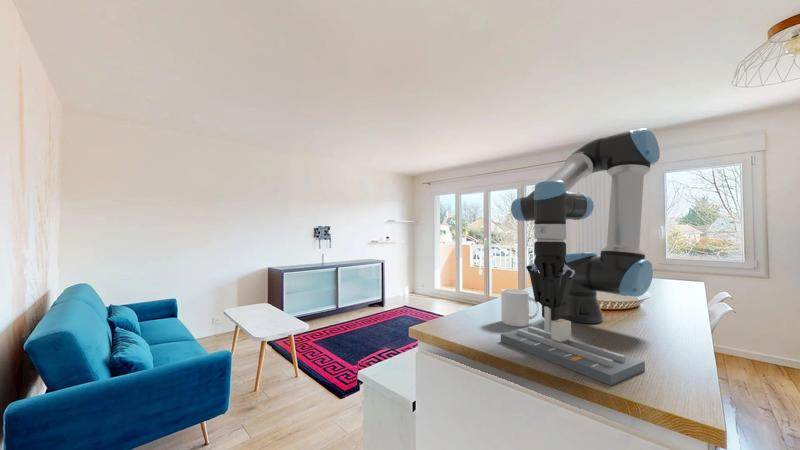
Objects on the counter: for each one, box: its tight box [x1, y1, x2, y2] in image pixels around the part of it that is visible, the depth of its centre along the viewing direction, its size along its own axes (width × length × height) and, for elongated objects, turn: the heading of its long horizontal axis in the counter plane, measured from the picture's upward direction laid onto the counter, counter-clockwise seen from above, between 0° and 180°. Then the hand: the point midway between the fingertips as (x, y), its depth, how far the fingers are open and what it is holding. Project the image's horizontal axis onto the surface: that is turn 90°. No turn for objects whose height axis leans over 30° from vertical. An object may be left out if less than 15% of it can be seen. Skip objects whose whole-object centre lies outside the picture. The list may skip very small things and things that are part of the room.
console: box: [500, 326, 646, 386], centre depth 76 cm, size 14×28×3 cm, turn 29°
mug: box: [500, 288, 539, 328], centre depth 102 cm, size 9×12×11 cm
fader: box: [551, 318, 572, 345], centre depth 77 cm, size 4×2×6 cm, turn 119°
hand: (550, 331), depth 80 cm, fingers closed
